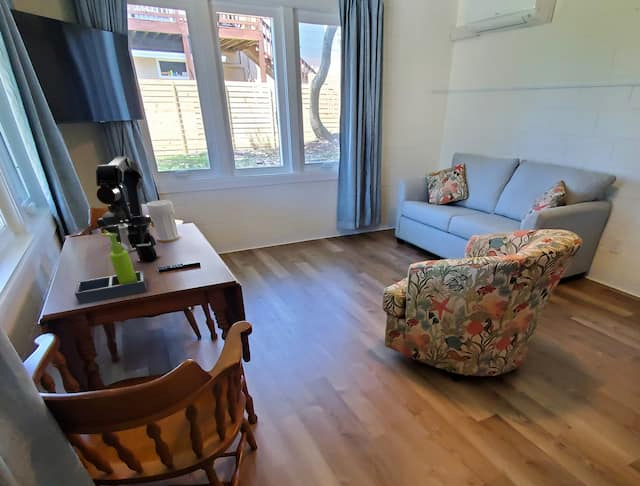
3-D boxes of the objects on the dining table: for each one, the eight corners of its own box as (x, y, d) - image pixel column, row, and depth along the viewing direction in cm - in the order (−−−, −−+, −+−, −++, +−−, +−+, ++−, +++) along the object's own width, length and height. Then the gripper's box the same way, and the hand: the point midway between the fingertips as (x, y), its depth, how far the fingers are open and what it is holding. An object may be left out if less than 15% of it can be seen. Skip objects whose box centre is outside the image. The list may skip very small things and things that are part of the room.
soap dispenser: (127, 282, 151) (109, 230, 140) (142, 284, 149) (125, 232, 138) (115, 288, 146) (95, 235, 135) (130, 290, 144) (111, 237, 134)
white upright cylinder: (175, 242, 191) (165, 205, 182) (152, 242, 192) (141, 206, 182) (184, 235, 201) (175, 199, 192) (162, 235, 201) (152, 200, 192)
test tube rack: (137, 250, 183) (128, 221, 176) (126, 252, 181) (117, 223, 174) (123, 237, 199) (114, 210, 192) (113, 239, 197) (104, 212, 190)
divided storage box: (82, 291, 146) (77, 281, 144) (145, 280, 154) (142, 270, 152) (79, 304, 138) (74, 293, 135) (146, 291, 146) (143, 281, 143)
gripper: (79, 205, 140) (94, 249, 147) (127, 202, 138) (140, 247, 145) (100, 202, 150) (114, 243, 157) (146, 199, 148) (158, 241, 155)
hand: (131, 244), depth 153 cm, fingers open, 9 cm apart
